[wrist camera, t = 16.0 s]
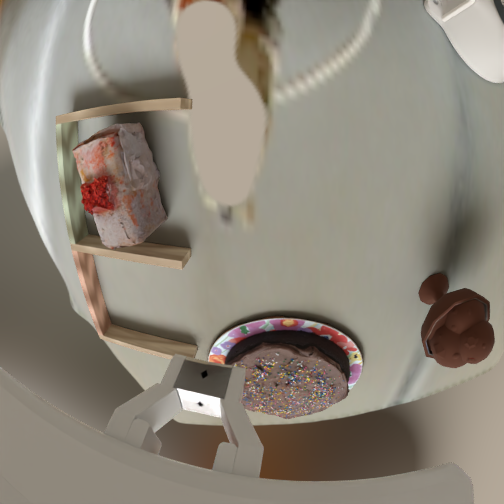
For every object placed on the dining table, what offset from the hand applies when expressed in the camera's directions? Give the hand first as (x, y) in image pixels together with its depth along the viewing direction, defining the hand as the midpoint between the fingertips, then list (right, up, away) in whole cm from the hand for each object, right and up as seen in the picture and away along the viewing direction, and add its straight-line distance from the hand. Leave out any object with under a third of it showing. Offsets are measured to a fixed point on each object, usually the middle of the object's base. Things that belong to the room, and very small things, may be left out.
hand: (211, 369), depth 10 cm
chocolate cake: (+8, -16, +35) cm, 40 cm away
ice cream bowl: (+29, -1, +23) cm, 37 cm away
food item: (-13, +15, +22) cm, 29 cm away
